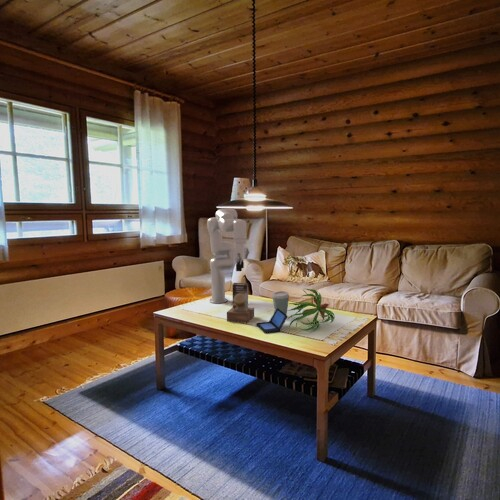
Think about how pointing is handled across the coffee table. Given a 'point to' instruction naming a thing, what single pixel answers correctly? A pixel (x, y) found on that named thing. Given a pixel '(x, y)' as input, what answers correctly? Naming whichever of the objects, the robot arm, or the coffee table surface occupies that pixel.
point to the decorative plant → (312, 311)
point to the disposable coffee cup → (281, 301)
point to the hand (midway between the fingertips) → (240, 269)
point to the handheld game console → (273, 322)
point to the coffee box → (240, 296)
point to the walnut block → (240, 315)
